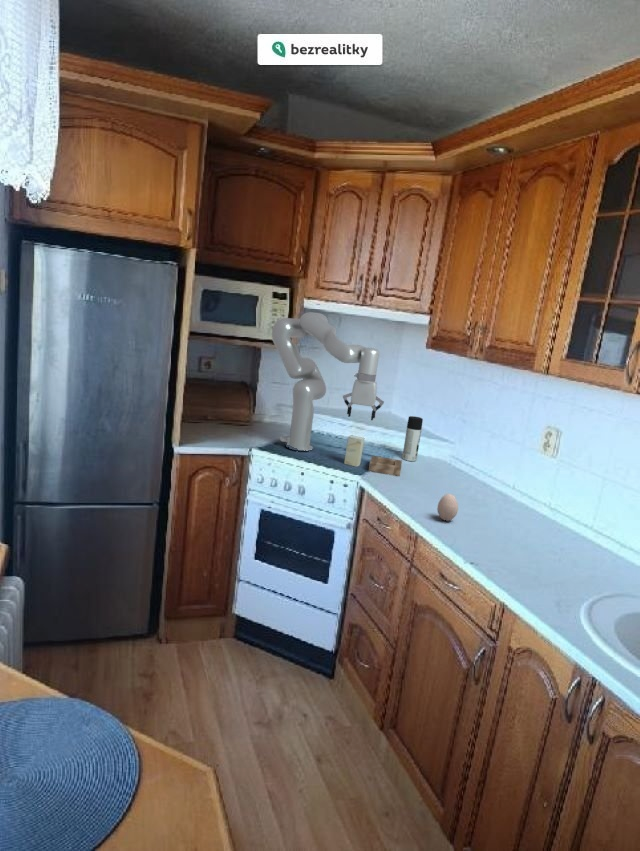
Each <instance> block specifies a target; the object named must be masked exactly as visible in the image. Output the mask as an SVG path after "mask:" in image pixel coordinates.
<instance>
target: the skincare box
mask: <svg viewBox="0 0 640 851" xmlns="http://www.w3.org/2000/svg"><path fill="white" fill-rule="evenodd" d="M364 444H365V437H361V436H359V435H358V436H357V435H353V434H351V435H349V436H348V437H347V444H346V449H345V454H344V455H345V456H344V461H343V462H344V463H343V464H344V465H348V466H352V467H359V466H360V465H361V461H362V455H363V450H364V449H363V448H364Z"/></svg>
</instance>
